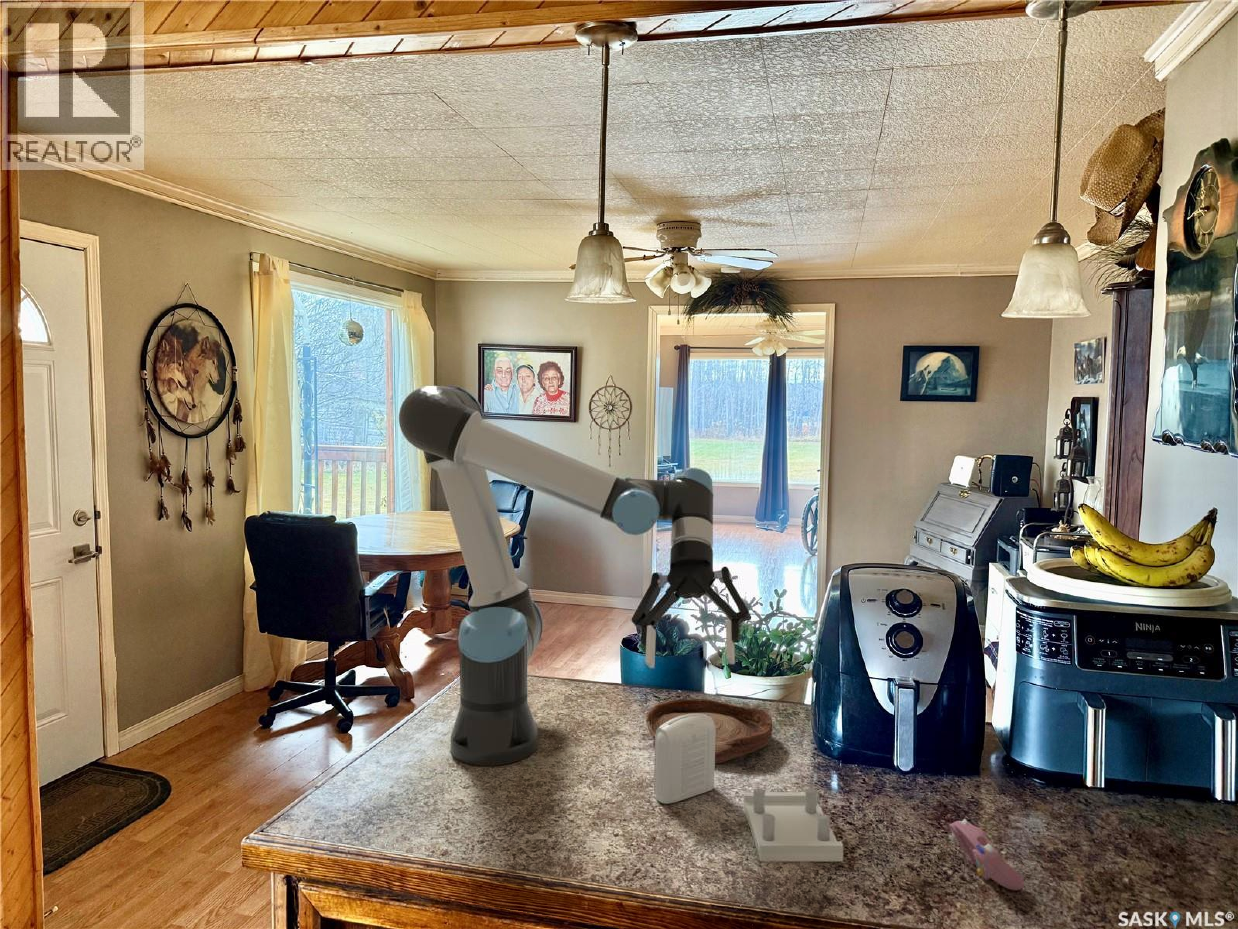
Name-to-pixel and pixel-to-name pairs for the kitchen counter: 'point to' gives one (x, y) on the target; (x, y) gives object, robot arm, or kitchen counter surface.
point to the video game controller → (984, 855)
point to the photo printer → (684, 758)
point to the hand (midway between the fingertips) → (689, 663)
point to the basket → (719, 724)
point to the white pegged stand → (790, 827)
